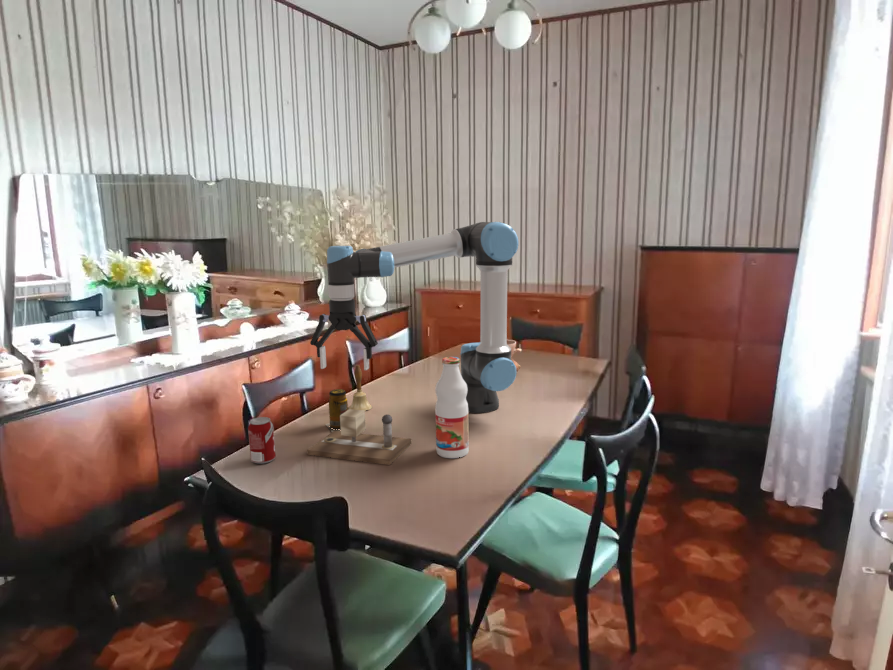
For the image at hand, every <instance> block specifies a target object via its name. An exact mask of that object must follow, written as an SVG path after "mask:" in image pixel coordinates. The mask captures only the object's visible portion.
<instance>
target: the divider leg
mask: <svg viewBox="0 0 893 670" xmlns="http://www.w3.org/2000/svg"><path fill="white" fill-rule="evenodd" d="M340 426H341V435H344V436H352V442H356V437H357V436H358V435H360V434H363V433H364V432H365V431H366V429H367V428H366V411H365V410H354V409H349V408H348V410H347V411H346V412H345V413H343V414H342V415H340Z"/></svg>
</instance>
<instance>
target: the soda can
mask: <svg viewBox="0 0 893 670" xmlns="http://www.w3.org/2000/svg"><path fill="white" fill-rule="evenodd" d="M247 433H248V442H249V444H248V446H249V454H250V455H249V456H250V462H252V463H253V464H254V463H255V464H258V465H265V464H270V463H271V462H273V461H274V460H275V459H276V458H277V457H276V455H277V454H276V446H275V445H276V443H275V429H274V424H273V423H272V421H271V418H270V417H266V416H260V417H259V416H258V417H254V418H252V419H250V420H249V425H248V427H247Z"/></svg>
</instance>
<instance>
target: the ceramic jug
mask: <svg viewBox="0 0 893 670" xmlns="http://www.w3.org/2000/svg"><path fill="white" fill-rule="evenodd" d="M507 345H508V346H509V347H510V348H511V360H512V362H513V363H514V364H515V366H516V371H517V372H518V371H519V370H520V369H521V365H520V364H519V363H518V362H517V361H515V360H514V359H513V356H514V354H516V353H518V352H519V353H520V354H521V352H522V348H516V347H517V341H516V340H513V339H507Z"/></svg>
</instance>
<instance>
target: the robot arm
mask: <svg viewBox="0 0 893 670" xmlns="http://www.w3.org/2000/svg"><path fill="white" fill-rule="evenodd" d="M518 248H519V237H518V235H517V232H516V231H515V230H514V228H513V227H512V226H511V225H509V224H507V223H503V222H500V221H481V222H480V221H479V222H477V223H473V224H469V225H467V226H466V225H465V226H463V227H460V228H454V229H452V231H451V232H450V233H444V234H439V235H434V236H428V237H423V238H418V239H413V240H407V241H403V242H402V241H400V242H398V243H397V242H396V243H391V244H386V245H381V246H377V247H371V248H361V249H358V250H356V251H354V249H353V246H351V245H331V246H328V248H327V249H326V250H327V251H326V258H327V259H326V269H327V281H328V282H327V283H328V285H327V286H328V298H329V301H328V307H329V311H328V312H329V315H328V314H326V313H322V314H320V315H319V318H318V324H317V326H316V328H315V331H314V333H313V335H312V338H311V339H310V342H309V343H310V345H311V346H314V347H316V356H317V358H319V361H320V363H319V364H320V369H321V370H323V369H325V368H326V367H327V355H326V354H327V353H326V345H324V344H325V343H326V341H327V340H328V339H329V337H330V336H331V335H332V334H333V332H334V331H350V332H351V333H353V334H354V335H355V337H357V339H358V340H359V341H360V342H361V344H362V345H363V346H364V348H363V350H362V351H363V371H368V370H369V369H370V360H371V359H372V357H373V349H372V348H374V347H376V346H377V345H378V344H379V343H378V340H377V339H376V337H375V335H374V333H373V330H372V329H371V327H370V326H369V323H368V321H367V315H366V314H362V315H357V314H356V300H355V279H356V278H357V279H360V278H384V277H391V276H393V275H394V272H395V268H400V267H405V266H411V265H414V264H420V263H425V262H430V261H434V260H435V261H436V260H439V259H440V260H441V259H445V258H450V257H456V258H458V259H460V258H465V257H474V258H475V266H476V267H477V268H478V270H479V271H480V335H479V337H480V341H479V342H469V343H464V344H462V345H461V347H460V353H459V354H460V355H459V356H460V373H461V376H462V378H463V380H464V381H465V382H466V384H467V389H468V391H467V396H466V401H467V403H468V413H474V414H475V413H478V414H480V413H483V414H484V413H489V412H493V411H495V410H497V409H499V406H500V399H499V397H498V394H497V392H502V391H505V390H507V389H509V388H510V386H511V385H512V384H513V383H514V382H515V380H516V378H517V372H518V371H516V366H515V364H514V363H513V362H512V360H511V348H510V347H509V346H508V345H507V340H508V337H507V335H508V334H507V333H508V331H507V329H508V328H507V327H508V318H507V317H508V270H509V269H510V268H511V267H512V266H513V257H514V256H515V254H516V253H517V251H518ZM328 321H329V322H330V324H331V325H330V326H328V329H327V330H326V331H325V332H324V334H323V335H322V336H321V334H322V333H323V330H324V327H325V324H326V323H327V322H328ZM356 322H358V323H359V324H360V326H361V328H362V330H363V331H364V333H363V332H362V331H361V330H360V329H359V326H358V325H357V324H356ZM320 337H321V338H320Z"/></svg>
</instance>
